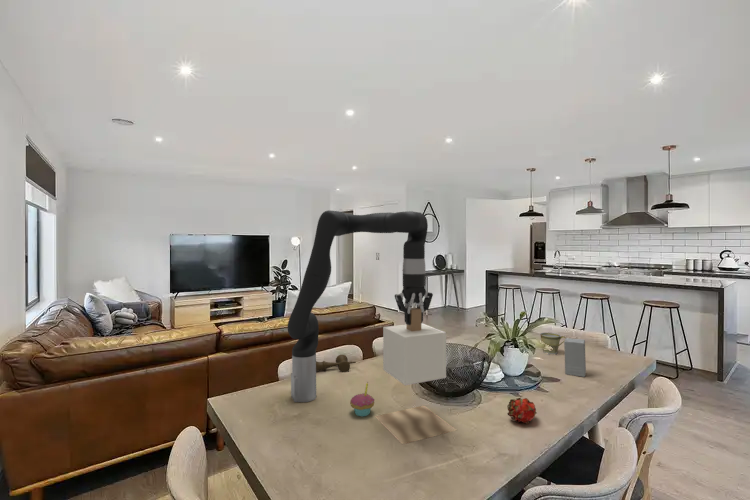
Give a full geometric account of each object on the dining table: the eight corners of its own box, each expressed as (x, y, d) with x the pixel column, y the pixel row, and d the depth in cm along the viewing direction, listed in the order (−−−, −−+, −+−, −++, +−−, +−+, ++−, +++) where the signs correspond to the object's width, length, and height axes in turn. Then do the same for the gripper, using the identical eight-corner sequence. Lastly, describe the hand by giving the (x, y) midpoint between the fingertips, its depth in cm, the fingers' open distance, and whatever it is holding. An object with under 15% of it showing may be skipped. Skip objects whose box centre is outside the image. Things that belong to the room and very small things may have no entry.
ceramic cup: (543, 355, 201) (543, 336, 201) (538, 349, 211) (538, 332, 211) (569, 356, 199) (569, 337, 199) (562, 350, 209) (563, 333, 209)
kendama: (313, 369, 183) (354, 364, 188) (315, 376, 174) (358, 371, 178) (313, 357, 183) (354, 352, 187) (315, 364, 173) (357, 359, 178)
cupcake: (375, 409, 137) (375, 377, 137) (373, 420, 129) (372, 386, 129) (352, 409, 138) (351, 376, 138) (348, 419, 130) (348, 385, 130)
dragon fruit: (505, 428, 127) (531, 425, 132) (523, 422, 121) (549, 419, 126) (497, 402, 131) (521, 400, 137) (514, 394, 125) (539, 393, 131)
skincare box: (585, 373, 174) (586, 339, 174) (584, 378, 168) (585, 342, 167) (565, 370, 178) (565, 336, 178) (563, 374, 172) (564, 340, 172)
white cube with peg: (404, 385, 116) (405, 314, 115) (383, 369, 130) (383, 306, 129) (446, 377, 122) (446, 310, 121) (421, 363, 136) (421, 303, 135)
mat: (402, 446, 113) (402, 444, 113) (374, 417, 131) (374, 416, 131) (457, 431, 121) (457, 430, 121) (423, 407, 140) (423, 405, 140)
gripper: (400, 273, 119) (400, 328, 119) (438, 272, 124) (438, 324, 125) (389, 272, 125) (389, 323, 126) (426, 270, 131) (426, 319, 132)
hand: (413, 323), depth 125 cm, fingers closed on white cube with peg, 3 cm apart
